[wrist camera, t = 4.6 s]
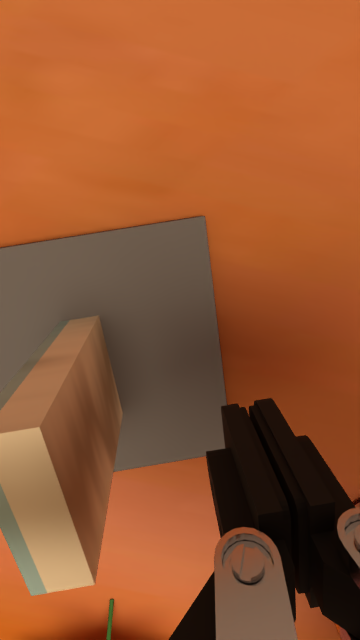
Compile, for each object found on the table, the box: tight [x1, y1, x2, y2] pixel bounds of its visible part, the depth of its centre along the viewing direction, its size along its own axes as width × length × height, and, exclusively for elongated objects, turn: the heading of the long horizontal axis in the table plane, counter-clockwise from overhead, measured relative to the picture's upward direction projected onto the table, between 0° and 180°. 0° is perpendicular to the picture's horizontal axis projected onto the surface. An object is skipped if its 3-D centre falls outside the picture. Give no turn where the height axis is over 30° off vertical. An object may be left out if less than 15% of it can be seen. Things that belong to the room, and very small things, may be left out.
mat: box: [0, 216, 227, 472], centre depth 18 cm, size 14×22×1 cm, turn 98°
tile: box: [0, 316, 123, 596], centre depth 13 cm, size 6×2×9 cm, turn 8°
